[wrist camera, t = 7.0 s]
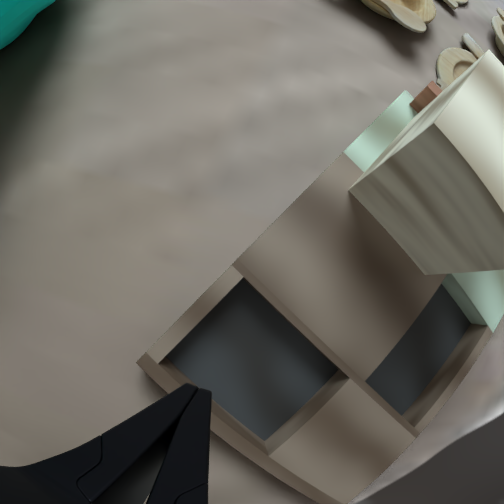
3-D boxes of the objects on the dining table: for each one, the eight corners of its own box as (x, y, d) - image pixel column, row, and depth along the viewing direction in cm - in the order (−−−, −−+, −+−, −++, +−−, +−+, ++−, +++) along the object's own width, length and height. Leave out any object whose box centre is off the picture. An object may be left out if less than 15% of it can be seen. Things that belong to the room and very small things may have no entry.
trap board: (327, 496, 20) (347, 534, 15) (145, 354, 21) (120, 375, 15) (514, 256, 24) (553, 251, 18) (392, 103, 24) (422, 71, 18)
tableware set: (411, -52, 29) (419, -66, 25) (539, 64, 29) (552, 55, 25) (284, -4, 25) (291, -31, 21) (498, 190, 25) (525, 180, 21)
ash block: (424, 275, 20) (535, 266, 10) (348, 190, 20) (433, 122, 10) (476, 192, 21) (566, 157, 11) (413, 118, 21) (488, 49, 11)
